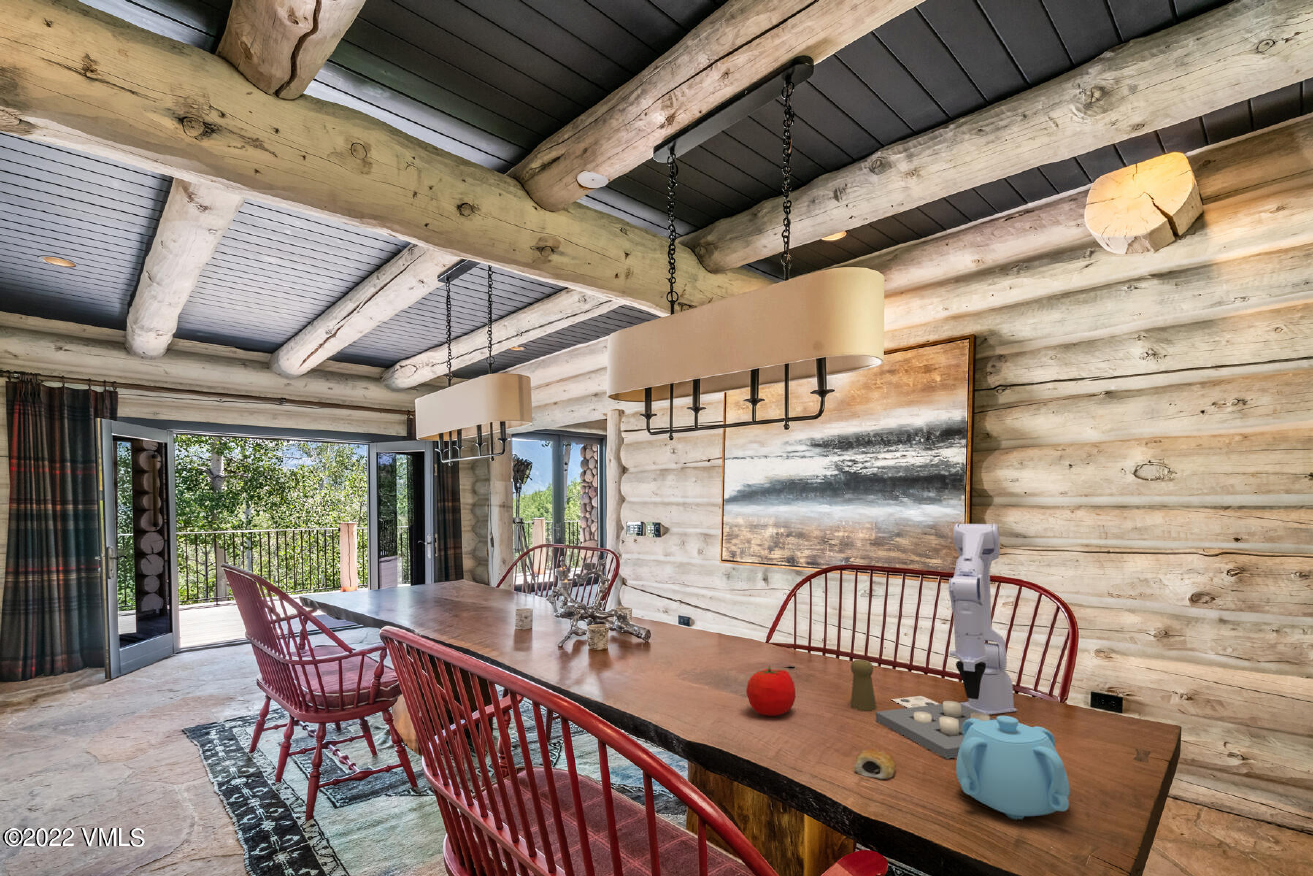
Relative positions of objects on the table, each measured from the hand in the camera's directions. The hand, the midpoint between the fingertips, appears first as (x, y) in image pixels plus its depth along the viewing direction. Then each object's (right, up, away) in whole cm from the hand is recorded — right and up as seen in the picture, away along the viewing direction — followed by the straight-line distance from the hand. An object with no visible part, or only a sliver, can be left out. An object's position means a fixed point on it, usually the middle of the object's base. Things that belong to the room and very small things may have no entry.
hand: (972, 698), depth 131 cm
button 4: (-7, -6, -3) cm, 10 cm away
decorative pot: (-8, -5, -29) cm, 31 cm away
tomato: (-40, -10, +14) cm, 44 cm away
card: (-3, -10, +20) cm, 23 cm away
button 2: (+1, -6, -1) cm, 6 cm away
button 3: (-9, -8, +4) cm, 13 cm away
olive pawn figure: (-17, -10, +18) cm, 27 cm away
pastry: (-27, -7, -16) cm, 32 cm away
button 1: (-1, -7, +6) cm, 10 cm away
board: (-4, -8, +1) cm, 9 cm away
